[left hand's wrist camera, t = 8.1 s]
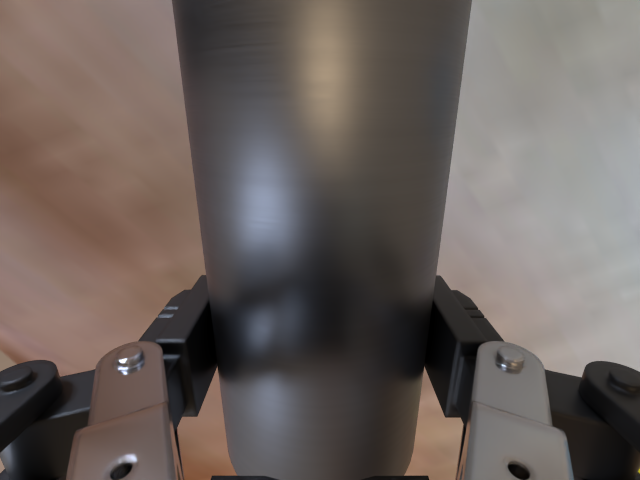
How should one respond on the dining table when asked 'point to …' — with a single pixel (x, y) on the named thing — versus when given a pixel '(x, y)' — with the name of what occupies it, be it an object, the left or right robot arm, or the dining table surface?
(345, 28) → the rod
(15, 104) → the dining table surface
